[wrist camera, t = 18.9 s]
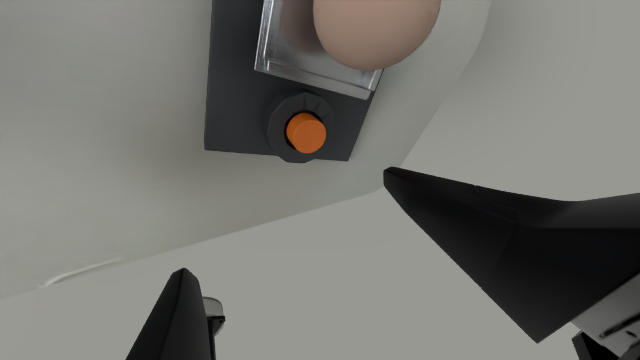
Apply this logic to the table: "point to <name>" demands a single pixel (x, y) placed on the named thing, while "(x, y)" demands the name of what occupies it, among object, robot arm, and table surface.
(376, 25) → the egg
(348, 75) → the brushed steel platform
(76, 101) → the table surface
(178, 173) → the table surface
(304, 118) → the button
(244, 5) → the scale
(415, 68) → the table surface
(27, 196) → the table surface
